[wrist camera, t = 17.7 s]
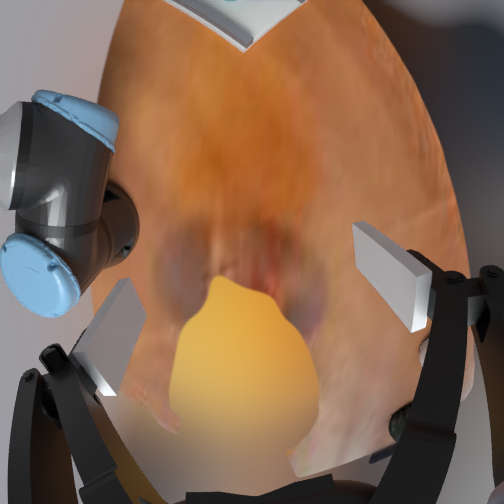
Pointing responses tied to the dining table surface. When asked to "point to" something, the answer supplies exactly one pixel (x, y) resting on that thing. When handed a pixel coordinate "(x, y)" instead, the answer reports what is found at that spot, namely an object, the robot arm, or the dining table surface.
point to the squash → (398, 423)
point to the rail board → (238, 17)
